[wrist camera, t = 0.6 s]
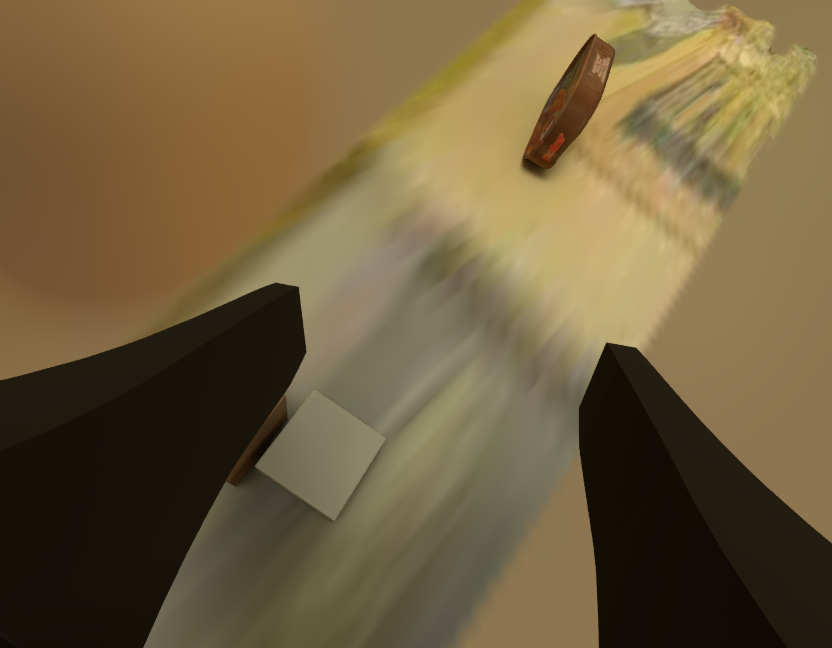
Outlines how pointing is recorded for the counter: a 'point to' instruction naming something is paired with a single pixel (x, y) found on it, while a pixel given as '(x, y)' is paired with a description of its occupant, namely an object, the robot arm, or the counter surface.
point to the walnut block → (259, 442)
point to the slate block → (321, 455)
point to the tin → (571, 103)
